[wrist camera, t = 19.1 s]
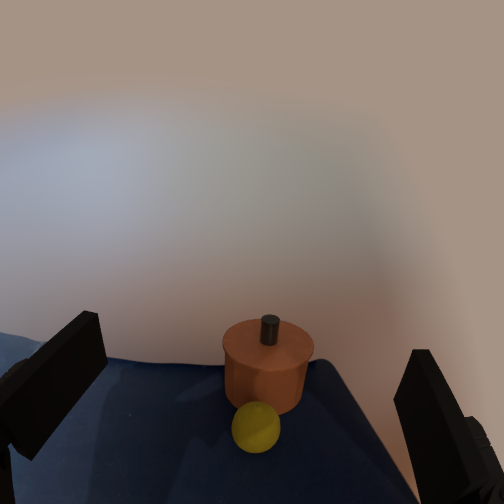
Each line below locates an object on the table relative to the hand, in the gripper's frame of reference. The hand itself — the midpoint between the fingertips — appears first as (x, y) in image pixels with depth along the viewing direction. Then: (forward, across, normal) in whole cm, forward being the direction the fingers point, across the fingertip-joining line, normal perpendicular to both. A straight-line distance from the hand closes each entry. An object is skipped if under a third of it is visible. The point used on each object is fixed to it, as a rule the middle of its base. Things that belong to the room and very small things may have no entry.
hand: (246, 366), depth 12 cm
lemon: (+14, 0, -25) cm, 29 cm away
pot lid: (+26, 0, -16) cm, 31 cm away
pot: (+26, 0, -25) cm, 36 cm away
